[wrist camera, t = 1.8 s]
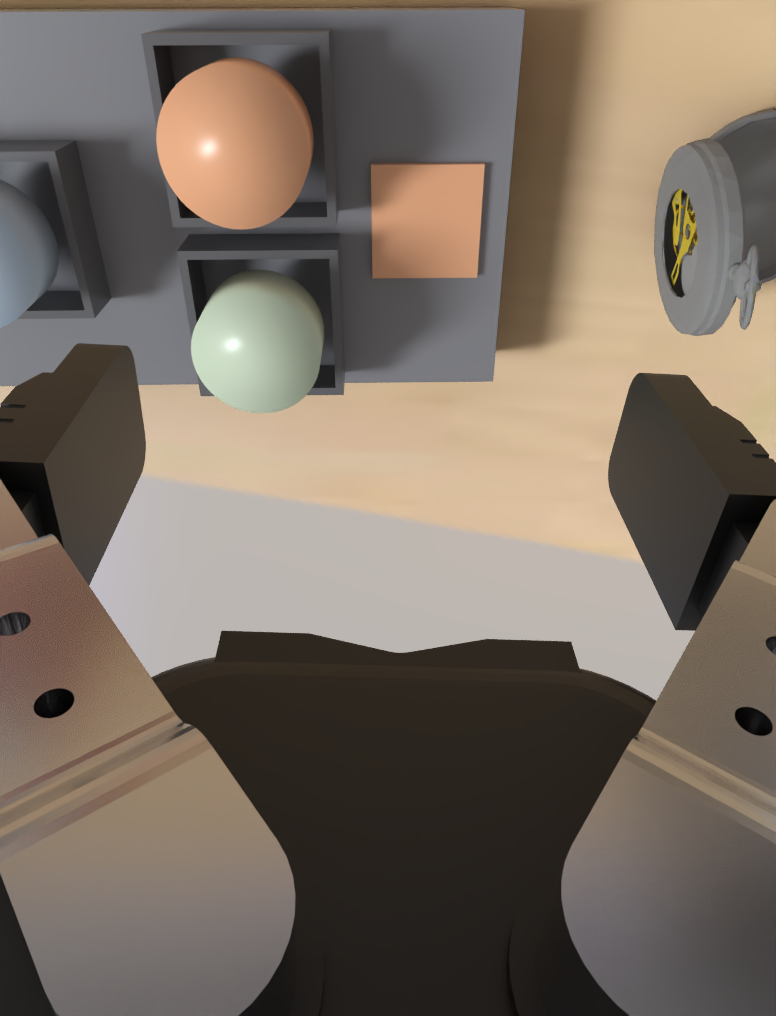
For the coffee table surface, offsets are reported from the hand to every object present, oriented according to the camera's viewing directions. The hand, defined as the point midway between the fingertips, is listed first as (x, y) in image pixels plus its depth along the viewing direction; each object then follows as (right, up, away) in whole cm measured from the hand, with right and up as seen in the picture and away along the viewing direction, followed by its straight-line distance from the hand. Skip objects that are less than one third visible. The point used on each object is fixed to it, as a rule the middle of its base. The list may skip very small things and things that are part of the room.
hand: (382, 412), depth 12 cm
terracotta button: (-5, +10, +12) cm, 16 cm away
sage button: (-4, +5, +15) cm, 17 cm away
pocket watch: (+13, +11, +18) cm, 25 cm away
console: (-7, +11, +18) cm, 22 cm away
